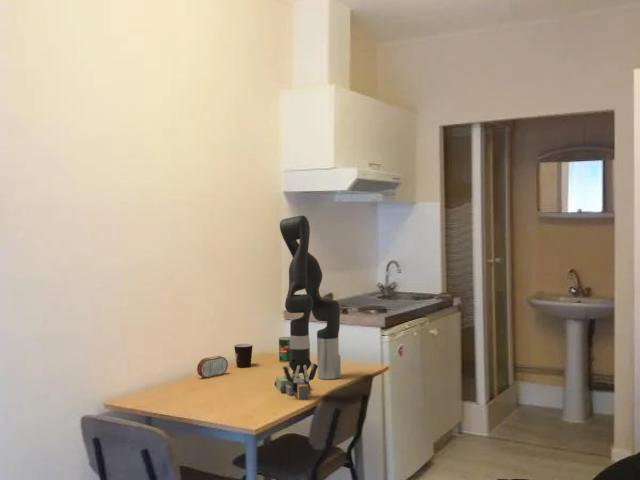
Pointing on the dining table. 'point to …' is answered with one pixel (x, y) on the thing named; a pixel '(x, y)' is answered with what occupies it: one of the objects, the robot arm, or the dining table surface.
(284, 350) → the canned tomato
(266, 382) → the dining table surface
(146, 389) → the dining table surface
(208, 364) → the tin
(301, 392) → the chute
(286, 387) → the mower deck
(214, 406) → the dining table surface
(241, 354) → the coffee mug
